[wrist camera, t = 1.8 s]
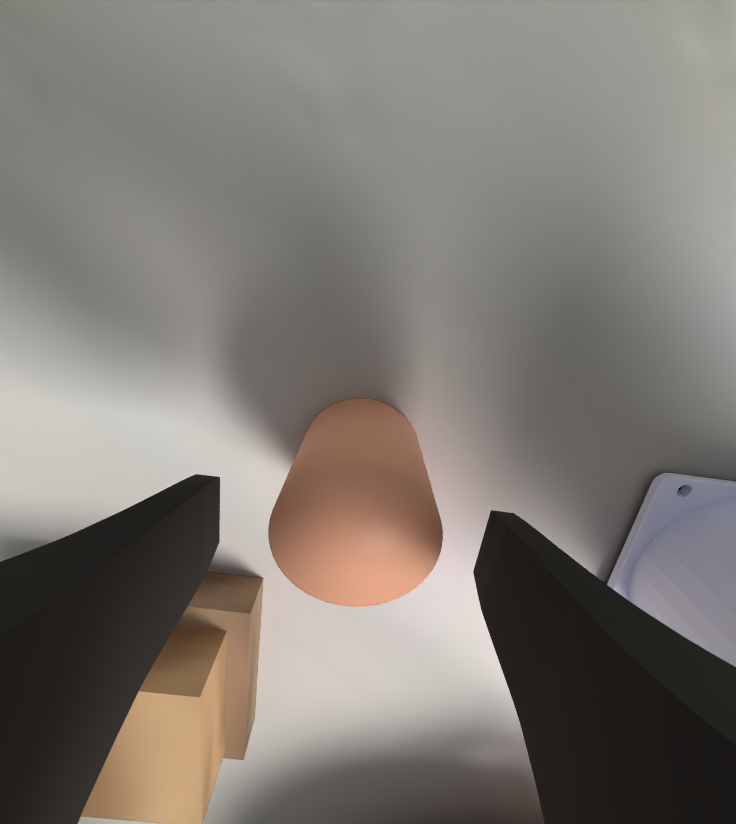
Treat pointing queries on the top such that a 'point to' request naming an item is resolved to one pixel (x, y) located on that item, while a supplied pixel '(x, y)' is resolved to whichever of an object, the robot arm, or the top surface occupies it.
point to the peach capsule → (357, 508)
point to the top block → (169, 737)
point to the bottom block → (232, 646)
